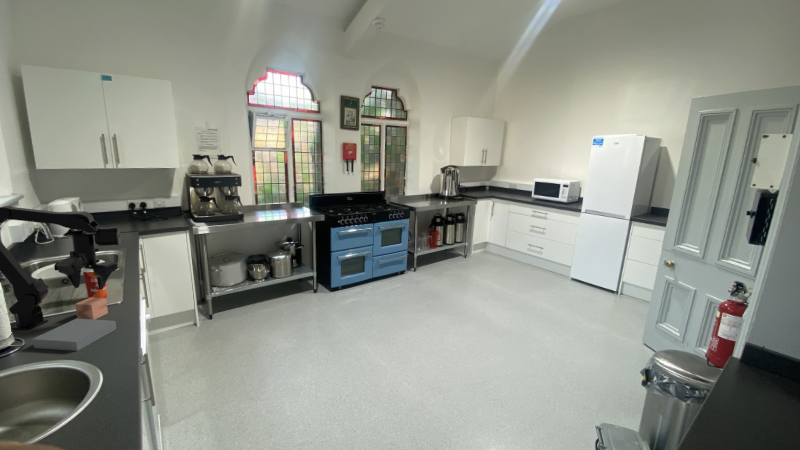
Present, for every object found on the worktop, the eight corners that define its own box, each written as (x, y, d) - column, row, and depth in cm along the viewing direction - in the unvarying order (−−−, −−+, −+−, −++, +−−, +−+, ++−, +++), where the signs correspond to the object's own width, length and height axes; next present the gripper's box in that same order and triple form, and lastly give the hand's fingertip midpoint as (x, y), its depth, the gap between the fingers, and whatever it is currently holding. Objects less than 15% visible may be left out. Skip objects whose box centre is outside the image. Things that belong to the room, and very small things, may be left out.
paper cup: (95, 302, 139) (91, 269, 136) (80, 300, 140) (76, 267, 137) (115, 295, 146) (111, 264, 144) (100, 293, 148) (96, 262, 145)
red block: (77, 319, 125) (75, 303, 124) (92, 312, 131) (90, 297, 130) (93, 320, 125) (91, 304, 124) (107, 313, 131) (106, 298, 130)
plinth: (33, 348, 106) (32, 339, 106) (77, 326, 120) (76, 318, 120) (77, 350, 106) (76, 341, 105) (116, 328, 120) (115, 320, 119)
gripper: (34, 251, 115) (41, 295, 118) (87, 254, 114) (92, 299, 117) (67, 243, 126) (73, 283, 129) (116, 246, 125) (120, 287, 128)
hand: (89, 288), depth 126 cm, fingers open, 9 cm apart
